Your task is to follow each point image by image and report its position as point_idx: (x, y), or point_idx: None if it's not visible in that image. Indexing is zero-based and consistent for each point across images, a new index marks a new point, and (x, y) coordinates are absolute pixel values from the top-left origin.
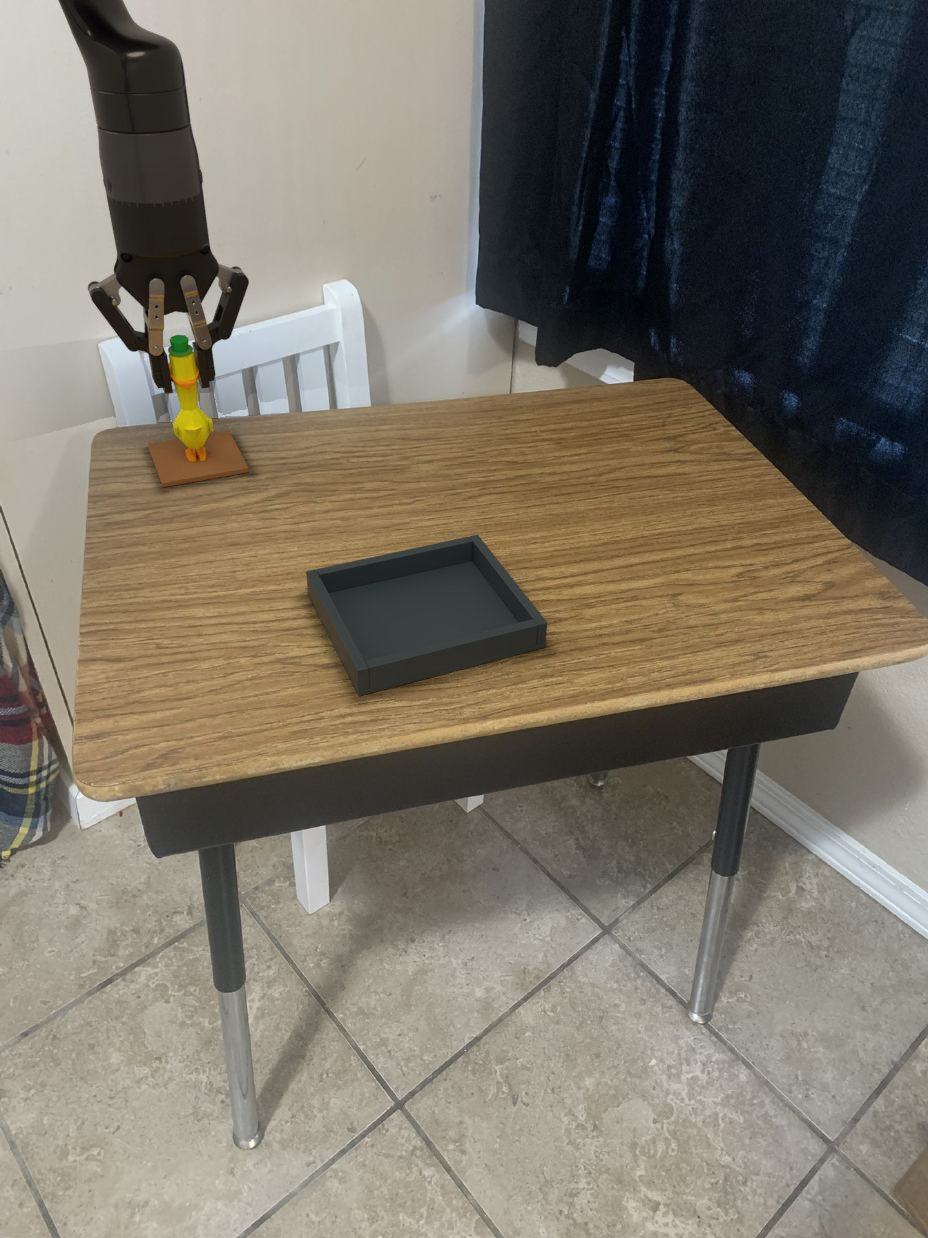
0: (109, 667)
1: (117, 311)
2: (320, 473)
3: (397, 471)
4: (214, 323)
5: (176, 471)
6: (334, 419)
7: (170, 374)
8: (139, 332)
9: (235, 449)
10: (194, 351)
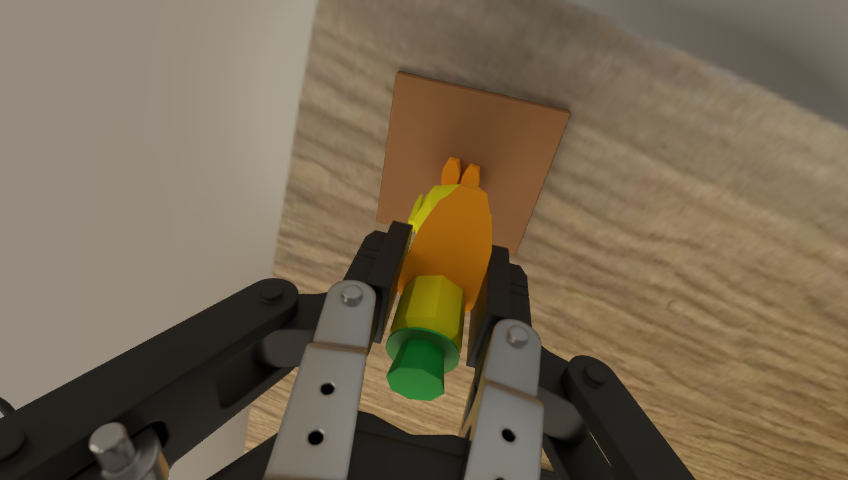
0: (265, 416)
1: (170, 462)
2: (604, 307)
3: (699, 360)
4: (557, 411)
5: (409, 202)
6: (803, 170)
7: (400, 284)
8: (297, 336)
9: (533, 192)
10: (481, 309)
